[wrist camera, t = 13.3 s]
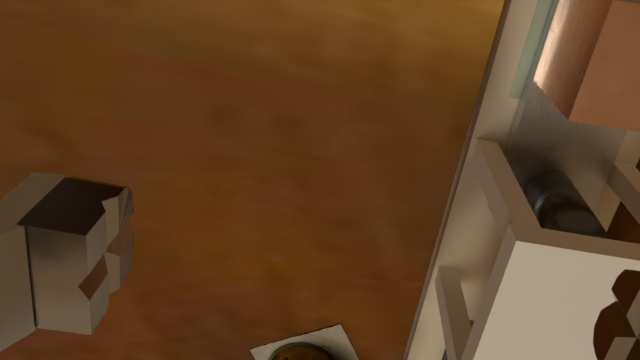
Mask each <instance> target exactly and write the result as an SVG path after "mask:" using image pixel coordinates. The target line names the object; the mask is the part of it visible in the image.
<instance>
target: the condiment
mask: <svg viewBox="0 0 640 360" xmlns="http://www.w3.org/2000/svg"><path fill="white" fill-rule="evenodd" d="M322 346H325V348H323V347H322ZM327 347H330V348H331V349H328V348H327ZM250 351H251V353H252V355H253V356H254V358H255V359H256V360H359V358H358V357H357V355H356V353H355V350H354V348H353V347H352V345H351V343H350V341H349V339H348V337H347V335H346V334H345V332H344V330H343V328H342V326H341V324H339V325H336V326H333V327H330V328H325V329H322V330H320V331H315V332H311V333H309V334H304V335H301V336H296V337H292V338H288V339H285V340H281V341H277V342H274V343H270V344H267V345H264V346H260V347H257V348H254V349H252V350H250Z"/></svg>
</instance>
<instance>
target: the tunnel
mask: <svg viewBox="0 0 640 360" xmlns="http://www.w3.org/2000/svg"><path fill="white" fill-rule="evenodd" d="M471 160H472V162H473V165H474V167H475V170H476V173H477V175H478V178H479V180H480V183H481V186H482V188H483V191H484V193H485V196H486V199H487V201H488V204H489V206H490V209H491V212H492V214H493V217H494V219H495V222H496V225H497V227H498V230H499V233H500V235H501V238H502V240H503V241H502V244H501V246H500V249H499V252H498V255H497V258H496V261H495V264H494V267H493V269H492V272H491V275H490V278H489V281H488V284H487V287H486V289H485V292H484V295H483V298H482V301H481V304H480V307H479V309H478V312H477V315H476V318H475V321H474V324H473V327H472V329H471V325H470V321H469V316H468V312H467V308H466V304H465V299H464V295H463V291H462V287H461V283H460V278H459V274H458V270H457V269H453V268H447V267H441V266H439V267H438V270H437V273H436V277H435V280H434V283H435V289H436V294H437V300H438V306H439V312H440V318H441V323H442V329H443V335H444V341H445V347H446V352H447V358H448V360H597V357H596V355H595V351H594V346H593V335H594V326H595V323H596V321H597V319H598V316H599V314H600V311H601V310H602V309H604V308H605V307H607V306H608V305H610V304H612V303H613V302H615V299H614V296H613V293H612V290H611V288H612V286H613V284H614V282H615V280H616V278H617V277H618V276H619V275H620V274H621V273H622V272H623V271H624V270H625V269H627V270H637V271H640V244H636V243H630V242H624V241H617V240H611V239H605V238H599V237H593V236H587V235H580V234H574V233H568V232H562V231H556V230H550V229H543V228H541V226H540V225H539V223H538V221H537V219H536V217H535V215H534V213H533V211H532V209H531V207H530V205H529V203H528V201H527V199H526V197H525V195H524V193H523V191H522V189H521V187H520V185H519V183H518V181H517V179H516V178H515V176H514V174H513V172H512V170H511V168H510V166H509V164H508V162H507V160H506V158H505V156H504V154H503V152H502V150H501V148H500V146H499V144H498V142H495V141H489V140H482V139H476V141H475V145H474V148H473V152H472V155H471ZM606 183H607V184H608V185H609V187H610V188H611V189H612V190H613V192H614V193H615V194H616V195H617V197H618V198H619V199H620V200H621V202H622V203H623V204H624V205H625V207H626V208H627V209H628V210H629V212H630V213H631V214H632V215H633V217H634V218H635V219H636V220H637V221H638V223H639V224H640V172H639V170H638V169H637V168H636V167H635V166H634V165H633V164H630V163H624V162H618V161H615V162H614V164H613V167H612V169H611V172H610V174H609V176H608V179H607V181H606Z"/></svg>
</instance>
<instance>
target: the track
mask: <svg viewBox="0 0 640 360" xmlns="http://www.w3.org/2000/svg"><path fill="white" fill-rule="evenodd" d="M552 2H553V0H505V2H504V6H503V9H502V13H501V16H500V20H499V23H498V27H497V30H496V34H495V37H494V41H493V44H492V48H491V51H490V55H489V58H488V62H487V65H486V69H485V72H484V76H483V79H482V83H481V86H480V90H479V93H478V97H477V100H476V104H475V107H474V111H473V114H472V118H471V121H470V125H469V128H468V132H467V135H466V139H465V142H464V146H463V149H462V153H461V156H460V160H459V163H458V167H457V170H456V174H455V177H454V181H453V184H452V188H451V191H450V195H449V198H448V202H447V205H446V209H445V212H444V216H443V219H442V223H441V226H440V230H439V233H438V237H437V240H436V244H435V247H434V251H433V254H432V258H431V261H430V265H429V268H428V272H427V275H426V279H425V282H424V286H423V289H422V293H421V296H420V300H419V303H418V307H417V310H416V314H415V317H414V321H413V324H412V328H411V331H410V335H409V338H408V342H407V345H406V349H405V352H404V356H403V359H402V360H448V358H447V352H446V347H445V341H444V335H443V329H442V323H441V318H440V312H439V306H438V300H437V294H436V289H435V283H434V280H435V277H436V273H437V270H438V267H439V266H441V267H447V268H453V269H457V270H458V274H459V278H460V283H461V287H462V291H463V295H464V299H465V304H466V308H467V312H468V316H469V321H470V325H471V329H472V327H473V324H474V321H475V318H476V315H477V312H478V309H479V307H480V304H481V301H482V298H483V295H484V292H485V289H486V287H487V284H488V281H489V278H490V275H491V272H492V269H493V267H494V264H495V261H496V258H497V255H498V252H499V249H500V246H501V244H502V241H503V240H502V238H501V235H500V233H499V230H498V227H497V225H496V222H495V219H494V217H493V214H492V212H491V211H490V209H489V207H488V204H487V203H488V201H487V199H486V196H485V193H484V191H483V188H482V186H481V183H480V180H479V178H478V175H477V173H476V170H475V167H474V165H473V162H472V160H471V155H472V152H473V148H474V145H475V141H476V139H482V140H489V141H495V142H498V144H499V146H500V148H501V150H502V152H503V154H504V151H505V148H506V145H507V141H508V138H509V135H510V132H511V129H512V126H513V123H514V120H515V117H516V114H517V111H518V107H519V104H520V101H521V98H522V95H523V92H524V89H525V86H526V83H527V80H528V77H529V73H530V70H531V67H532V64H533V61H534V58H535V55H536V52H537V49H538V46H539V42H540V39H541V36H542V33H543V30H544V27H545V24H546V21H547V18H548V15H549V12H550V8H551V5H552ZM639 158H640V132H636V131H630V130H628V132H627V134H626V136H625V139H624V141H623V143H622V146H621V148H620V150H619V153H618V155H617V157H616V160H615V161H618V162H624V163H630V164H633V165H634V166H635V167H636V165H637V163H638V160H639ZM620 201H621V200H620V199H619V198H618V197H617V195H616V194H615V193H614V192H613V190H612V189H611V188H610V187H609V185H608V184H607V183H605V186H604V188H603V190H602V193H601V195H600V197H599V200H598V202H597V204H596V207H595V209H594V211H593V213H594V214H595V216H596V217H597V219H598V220H599V222H600V223H601V225H602V226H603V227H604V229H605V230H606V232H607V230H608V228H609V225H610V223H611V221H612V219H613V216H614V214H615V212H616V210H617V207H618V205H619V203H620Z"/></svg>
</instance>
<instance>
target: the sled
mask: <svg viewBox="0 0 640 360" xmlns="http://www.w3.org/2000/svg"><path fill="white" fill-rule="evenodd" d="M628 130H630V131H636V132H640V0H553V2H552V5H551V8H550V12H549V15H548V18H547V21H546V24H545V27H544V30H543V33H542V36H541V39H540V42H539V46H538V49H537V52H536V55H535V58H534V61H533V64H532V67H531V70H530V73H529V77H528V80H527V83H526V86H525V89H524V92H523V95H522V98H521V101H520V104H519V107H518V111H517V114H516V117H515V120H514V123H513V126H512V129H511V132H510V135H509V138H508V141H507V145H506V148H505V151H504V156H505V158H506V160H507V162H508V164H509V166H510V168H511V170H512V172H513V174H514V176H515V178H516V179H517V181H518V183H519V185H520V187H521V189H522V191H523V193H524V195H525V197H526V199H527V201H528V203H529V205H530V207H531V209H532V211H533V213H534V215H535V217H536V219H537V221H538V223H539V225H540V226H541V228H543V229H550V230H556V231H562V232H568V233H574V234H580V235H587V236H593V237H599V238H605V239H608V235H607V232H606V230H605V229H604V227H603V226H602V225H601V223H600V222H599V220H598V219H597V217H596V216H595V214H594V213H593V211H594V209H595V207H596V204H597V202H598V200H599V197H600V195H601V193H602V190H603V188H604V186H605V183H606V181H607V179H608V176H609V174H610V172H611V169H612V167H613V164H614V162H615V160H616V157H617V155H618V153H619V150H620V148H621V146H622V143H623V141H624V139H625V136H626V134H627V132H628ZM487 204H488V203H487ZM488 207H489V209H490V206H489V204H488ZM490 211H491V209H490Z"/></svg>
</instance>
